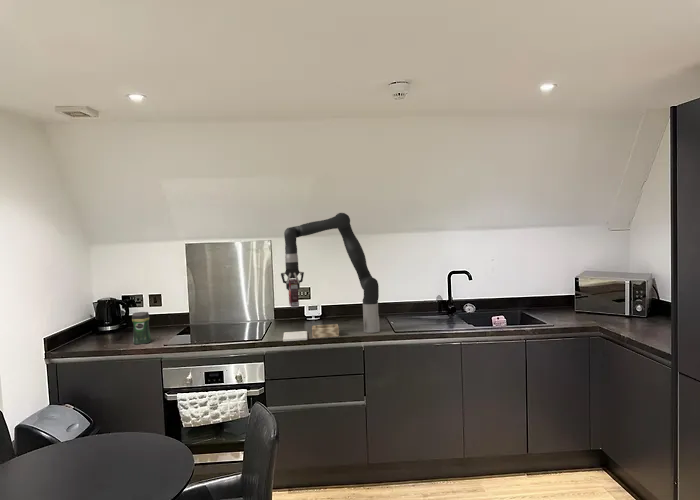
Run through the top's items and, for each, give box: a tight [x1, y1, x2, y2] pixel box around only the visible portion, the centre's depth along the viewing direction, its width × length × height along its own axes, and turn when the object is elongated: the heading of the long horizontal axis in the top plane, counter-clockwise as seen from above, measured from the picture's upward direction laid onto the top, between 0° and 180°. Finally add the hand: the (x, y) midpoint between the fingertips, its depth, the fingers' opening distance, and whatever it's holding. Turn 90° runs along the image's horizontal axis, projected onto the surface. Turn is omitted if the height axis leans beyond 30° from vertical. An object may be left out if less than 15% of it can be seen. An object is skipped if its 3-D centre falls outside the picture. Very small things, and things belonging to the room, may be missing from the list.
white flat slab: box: [282, 330, 308, 342], centre depth 315 cm, size 14×20×1 cm
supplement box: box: [288, 278, 300, 308], centre depth 313 cm, size 9×5×16 cm, turn 15°
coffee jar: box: [131, 311, 152, 345], centre depth 315 cm, size 10×8×19 cm
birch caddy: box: [311, 323, 340, 339], centre depth 316 cm, size 16×12×5 cm
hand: (293, 289), depth 313 cm, fingers closed on supplement box, 5 cm apart
